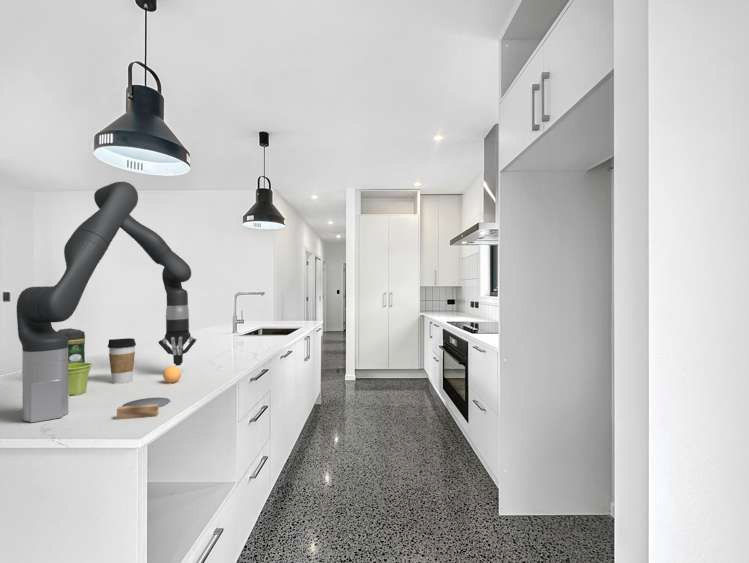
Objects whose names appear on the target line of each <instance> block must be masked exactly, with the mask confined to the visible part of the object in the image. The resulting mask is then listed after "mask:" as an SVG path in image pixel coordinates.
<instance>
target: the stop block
mask: <svg viewBox="0 0 749 563" xmlns="http://www.w3.org/2000/svg"><path fill="white" fill-rule="evenodd" d="M159 409H160V407H159V404H150V405H136V406H123V407H122V406H119V407H117V408H116V420H126V419H128V420H129V419H139V418H153V417H157V416H159Z"/></svg>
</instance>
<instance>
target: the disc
mask: <svg viewBox="0 0 749 563" xmlns="http://www.w3.org/2000/svg"><path fill="white" fill-rule="evenodd" d="M169 402H170V403H171V399H170V398H168V397H146V398H141V399H135V400H130V401H128V402H125V403H123V405H121V407H123V406H136V405H150V404H159V408H161V407H164V405H165V406H166V404H167V405H169V404H170V403H169ZM168 403H169V404H168Z"/></svg>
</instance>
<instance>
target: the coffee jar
mask: <svg viewBox="0 0 749 563" xmlns="http://www.w3.org/2000/svg"><path fill="white" fill-rule="evenodd" d="M56 332H58V333H60V334H62V335H65V336H66V337H67V338H68V364H74V363H86V359H85V357H86V356H85V354H86V352H85V342H86V334H85V331H84V330H81V329H77V328H76V329H75V328H63V329H58V330H57V331H56Z"/></svg>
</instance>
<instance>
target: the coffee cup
mask: <svg viewBox="0 0 749 563" xmlns="http://www.w3.org/2000/svg"><path fill="white" fill-rule="evenodd" d="M136 346H137V344H136V340H135V338H131V337H130V338H128V337H126V338H115V339H114V338H113V339H110V338H109V339H108V344H107V348H108V349H109V350H108V352H109V353H108V356H109V357H108V358H109V365H110V374H111V383H112V384H113V383H122V384H126V383H125V382H128V383H130V382H129V381H131V382H132V381H133V375H134V374H133V372H134V365H135V355H136V354H135V353H136V352H135V349H136V348H135V347H136Z"/></svg>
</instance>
